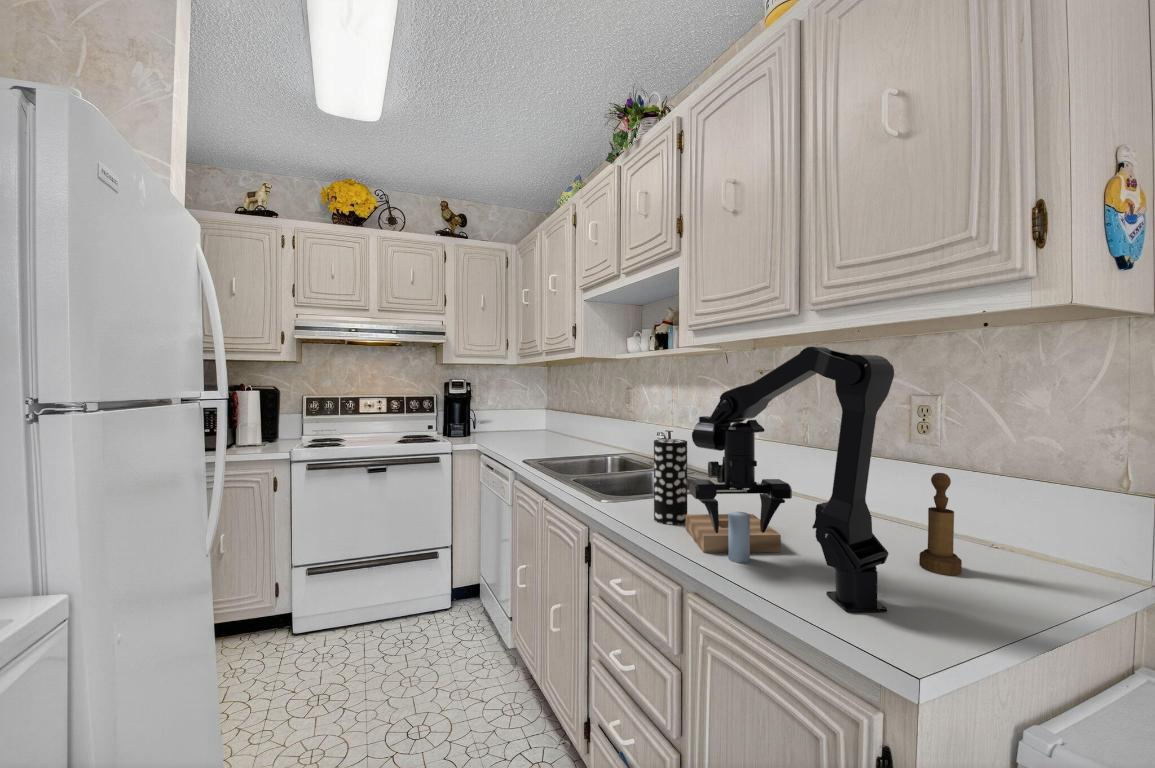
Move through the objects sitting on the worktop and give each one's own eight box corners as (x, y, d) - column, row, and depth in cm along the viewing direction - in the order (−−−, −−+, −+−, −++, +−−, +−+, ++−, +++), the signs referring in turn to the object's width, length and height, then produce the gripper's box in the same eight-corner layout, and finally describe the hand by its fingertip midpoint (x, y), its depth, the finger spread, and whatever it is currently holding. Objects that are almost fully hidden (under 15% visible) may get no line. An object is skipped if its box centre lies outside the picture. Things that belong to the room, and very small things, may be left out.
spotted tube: (652, 523, 126) (652, 442, 126) (655, 514, 134) (655, 438, 134) (686, 525, 124) (686, 443, 124) (687, 516, 132) (687, 439, 132)
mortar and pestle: (969, 576, 92) (970, 477, 92) (929, 574, 93) (929, 476, 93) (950, 563, 98) (951, 470, 98) (913, 561, 100) (913, 469, 99)
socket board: (780, 551, 105) (780, 534, 105) (703, 552, 105) (703, 535, 105) (752, 528, 121) (752, 514, 121) (685, 529, 121) (685, 514, 121)
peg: (752, 562, 99) (752, 516, 99) (732, 563, 99) (732, 517, 99) (745, 555, 103) (745, 511, 103) (725, 555, 103) (725, 511, 103)
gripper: (770, 447, 109) (770, 520, 109) (683, 448, 109) (683, 521, 109) (793, 455, 98) (793, 536, 98) (696, 456, 97) (696, 537, 98)
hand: (739, 532), depth 101 cm, fingers open, 9 cm apart
